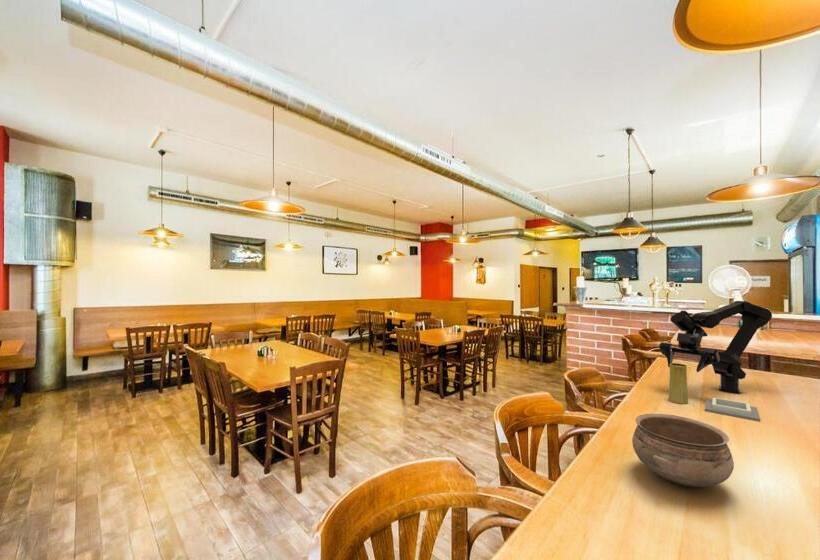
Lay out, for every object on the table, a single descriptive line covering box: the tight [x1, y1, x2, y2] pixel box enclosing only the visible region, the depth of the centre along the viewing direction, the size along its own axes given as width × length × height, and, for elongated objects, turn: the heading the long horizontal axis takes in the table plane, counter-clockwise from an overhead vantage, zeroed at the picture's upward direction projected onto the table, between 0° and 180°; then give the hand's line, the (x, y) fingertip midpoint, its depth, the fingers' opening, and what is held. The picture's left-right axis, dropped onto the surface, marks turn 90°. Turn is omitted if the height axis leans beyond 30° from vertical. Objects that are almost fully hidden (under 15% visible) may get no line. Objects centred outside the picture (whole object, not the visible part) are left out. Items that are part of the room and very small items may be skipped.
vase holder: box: [704, 396, 761, 422], centre depth 125 cm, size 14×14×2 cm
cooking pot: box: [631, 413, 735, 488], centre depth 83 cm, size 25×19×12 cm
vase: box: [667, 362, 689, 405], centre depth 134 cm, size 6×6×14 cm
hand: (682, 369), depth 138 cm, fingers open, 9 cm apart
